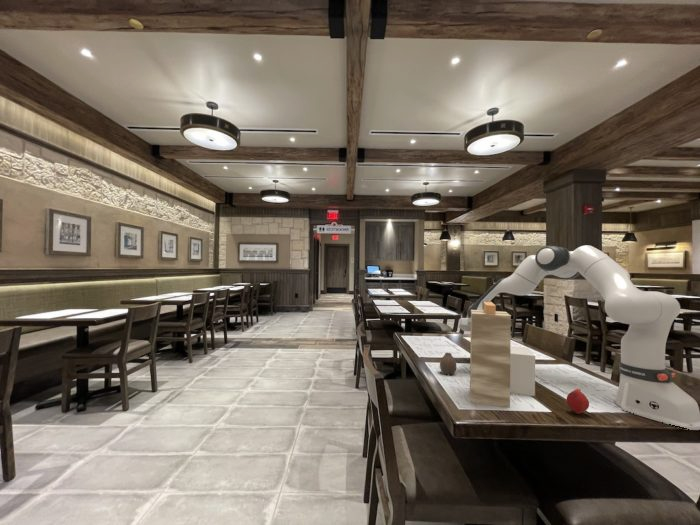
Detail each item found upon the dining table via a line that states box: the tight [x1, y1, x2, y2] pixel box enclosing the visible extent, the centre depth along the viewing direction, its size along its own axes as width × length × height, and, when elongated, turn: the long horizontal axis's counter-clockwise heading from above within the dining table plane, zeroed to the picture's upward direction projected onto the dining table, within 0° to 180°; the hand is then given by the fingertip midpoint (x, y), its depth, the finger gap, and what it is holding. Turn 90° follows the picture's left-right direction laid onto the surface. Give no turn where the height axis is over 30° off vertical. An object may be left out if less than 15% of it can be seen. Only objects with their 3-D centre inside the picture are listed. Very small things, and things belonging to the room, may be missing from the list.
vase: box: [439, 352, 457, 375], centre depth 141 cm, size 7×7×9 cm
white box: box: [510, 345, 536, 397], centre depth 125 cm, size 13×12×14 cm
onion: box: [566, 387, 590, 415], centre depth 103 cm, size 6×6×8 cm
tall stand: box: [469, 310, 512, 408], centre depth 114 cm, size 12×12×30 cm
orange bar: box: [482, 300, 497, 315], centre depth 119 cm, size 19×3×3 cm, turn 161°
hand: (485, 318), depth 135 cm, fingers open, 8 cm apart
